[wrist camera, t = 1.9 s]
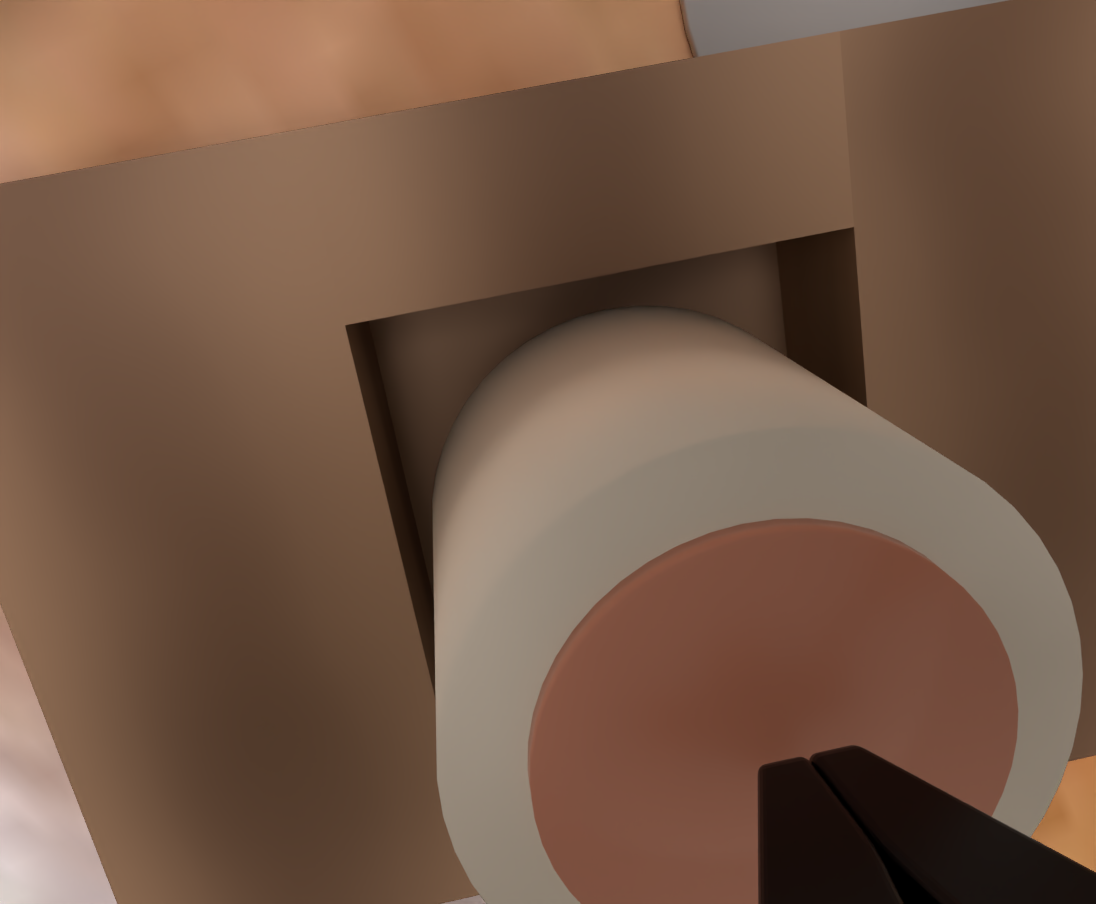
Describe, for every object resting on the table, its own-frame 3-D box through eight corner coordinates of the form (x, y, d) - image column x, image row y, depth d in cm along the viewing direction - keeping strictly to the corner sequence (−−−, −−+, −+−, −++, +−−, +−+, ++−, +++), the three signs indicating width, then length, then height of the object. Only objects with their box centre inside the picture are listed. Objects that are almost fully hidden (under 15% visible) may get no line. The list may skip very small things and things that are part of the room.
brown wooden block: (1061, -4, 17) (1243, -44, 13) (1066, 620, 21) (1207, 729, 17) (-16, 192, 16) (-153, 212, 12) (197, 809, 20) (143, 970, 16)
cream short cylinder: (815, 268, 14) (1105, 370, 8) (849, 643, 16) (1101, 951, 10) (390, 351, 14) (364, 522, 8) (476, 724, 16) (508, 1091, 10)
